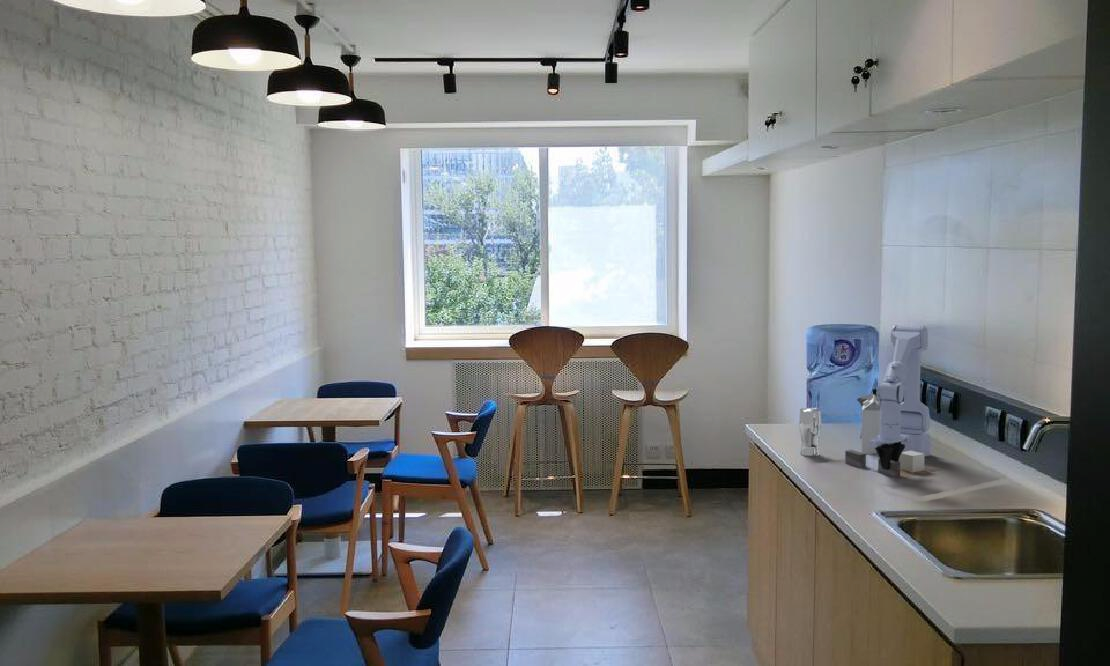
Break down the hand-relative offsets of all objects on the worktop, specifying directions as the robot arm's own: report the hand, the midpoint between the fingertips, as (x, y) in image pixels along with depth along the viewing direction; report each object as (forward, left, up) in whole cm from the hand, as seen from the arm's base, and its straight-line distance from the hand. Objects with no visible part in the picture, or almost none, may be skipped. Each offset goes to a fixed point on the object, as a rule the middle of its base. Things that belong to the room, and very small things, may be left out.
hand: (889, 468), depth 264 cm
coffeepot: (-36, -38, -3) cm, 53 cm away
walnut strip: (-7, 0, -3) cm, 8 cm away
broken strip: (-7, -13, -3) cm, 15 cm away
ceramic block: (-9, 0, -2) cm, 10 cm away
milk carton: (-19, -24, -3) cm, 31 cm away
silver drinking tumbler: (-1, -34, -3) cm, 34 cm away
